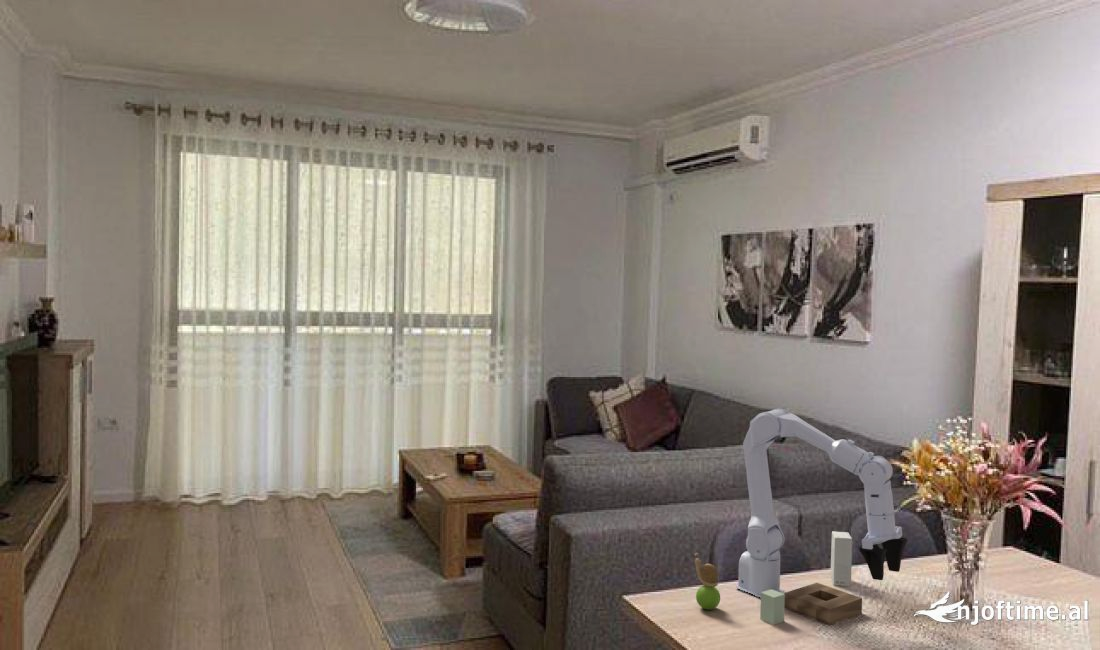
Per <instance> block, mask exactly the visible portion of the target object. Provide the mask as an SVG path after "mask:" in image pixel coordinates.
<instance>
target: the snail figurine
mask: <svg viewBox="0 0 1100 650" xmlns="http://www.w3.org/2000/svg"><path fill="white" fill-rule="evenodd" d="M694 556H695V558H694V564H695V568H696V569H695V570H696V571H695V572H696V574H697V577H698V580H699V582H700V583H702V585H701V586H700V587H699V588H698V589H696V594H695V599H696V602H697V604H698V605H699V607H701V608H702V609H704V610H708V611H709V610H714V609H716V608H717V607H718V605H720V601H721V594H720V593H721V592H720V591H719V590H718V589H717V586H718V585H719V583H718V582H717V580H718V578H719V572H718V569H717V567H716V566H715V565H713V564H711V563H705V564H703V565H702V566H701V563H702V560H701V558H698V557H697V556H699V552H696V553H694Z"/></svg>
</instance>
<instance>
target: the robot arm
mask: <svg viewBox="0 0 1100 650" xmlns="http://www.w3.org/2000/svg"><path fill="white" fill-rule="evenodd" d="M795 437H796V438H799V439H800V440H803V441H804V442H805V443H808V444H810V445H811V446H814V447H816V448H818V449H820V450H822V451H824V452H826V453H827V454H828V455H829V459H830V461H831V462H833V463H834V464H836V465H838V466H839V467H841V468H843V469H845V470H846V471H848V472H850V473H851V474H854V475H855V476H858V477H859V479H860V481H861V482H862V483H863V488H864V502H865V515H866V523H867V533H866V535H865V536H864V537H863V538H861V545H859V546H858V551H859V553H860V554H861V556H863V559H864V560H865V562H866V564H867V567H868V570H869V572H870V576H871V578H872V579H873V580H876V581H877V580H878V581H882V580H884V575H885V573H884V570H885V569H884V568H885V567H884V565H885V561H886V565H887V568H888V571H890V572H896V573H899V572H900V570H901V564H902V558H903V553H904V549H905V546H906V545H907V543H908V538H906V537H902V536H903V528H902V526H897V525H896V518H895V510H894V509H895V508H894V499H893V498H894V497H893V491H892V483H891V480H890V479H891V478H892V476H893V473H894V470H893V466H892V464H891V462H890V461H889V460H887V458H886V457H884V456H882V455H875V453H874V452H872V451H869V452H868V451H866V450H864V449H863V448H861V447H859V446H857V445H855V442H856V441H854V440H852V439H847V440H846V439H844V438H843V439H841V438H840V439H837V440H835V439H834V438H832V437H830V436H829V435H827V434H826V433H824V432H823V431H821V430H820V429H817V428H816V427H815V426H813V425H812V424H809V423H808V422H807V421H805V420H803V419H802V418H800V417H799V416H797V415H796V414H794V413H791V412H790V413H789V411H787V410H785V409H784V408H783V409H782V408H774V409H772V410H769V411H764V412H761V413H758V414H756V416H755V417H754V418H753V419H751V420H750V421H749V429H748V430H747V432H746V435H745V438H744V440H743V445H742V446H743V454H744V456H743V457H744V463H745V464H744V465H745V472H746V481H747V490H748V491H747V492H748V498H749V505H750V506H749V507H750V514H751V518H750V519H749V523H748V526H747V536H746V540H745V548H746V550H747V551H744V552H743V553H742V554H741V556H740V558H739V561H738V584H737V586H735V589H736V588H737V589H736V590H738V589H740V590H739V591H741V590H743V591H742V592H744V591H746V592H748V593H747V594H749V593H751V594H753V595H752V596H754V595H755V597H757V598H759V597H760V598H759V599H761V592H764V591H767V590H771V589H772V590H775V591H778V592H780V593H783V594H784V593H786V592H788V591H787V590H784V589H781V588H780V587H781V585H780V584H781V552H780V549H782V547H783V546H784V544H785V535H784V532H783V531H782V529H781V527H780V526H781V525H780V520H779V519H778V517H777V516H776V515H775V512H774V502H773V494H772V487H771V480H770V479H771V478H770V468H769V460H768V452H767V449H768V448H769V447H770V446H771V445H772V444H773V443H774V442H775V440H776V439H778V438H795ZM880 544H881V546H882V548H880V546H879V545H880ZM885 559H886V560H885ZM746 592H745V593H746ZM751 594H750V595H751Z"/></svg>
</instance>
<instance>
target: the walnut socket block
mask: <svg viewBox="0 0 1100 650" xmlns="http://www.w3.org/2000/svg"><path fill="white" fill-rule="evenodd" d="M784 594H785V604H784V609H786V610H789V611H791V612H794V613H797V614H799V615H802V616H803V617H806V618H809V619H812V620H815V621H817V622H819V623H823V624H825V625H827V626H832V625H835V624H837V623H839V622H843V621H845V620H848V619H850V618H854V617H856V616H859V615H861V614H863V597H860V596H858V595H854V594H851V593H848V592H846V591H843V590H840V589H837V588H834V587H831V586H828V585H825V584H822V583H819V582H815V583H811V584H808V585H804V586H802V587H799V588H795V589H793V590H788V591H787V592H786V593H784Z"/></svg>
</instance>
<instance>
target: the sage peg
mask: <svg viewBox="0 0 1100 650" xmlns="http://www.w3.org/2000/svg"><path fill="white" fill-rule="evenodd" d="M784 604H785V594H783V593H780V592H778V591H775V590H772V589H771V590H767V591H764V592H761V598H760V612H759V613H760V617H759V619H760V620H761V621H762V622H766V623H768V624H771V625H777V624H779V623H780V624H781V623H782V622H784V621H785V608H784Z"/></svg>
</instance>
